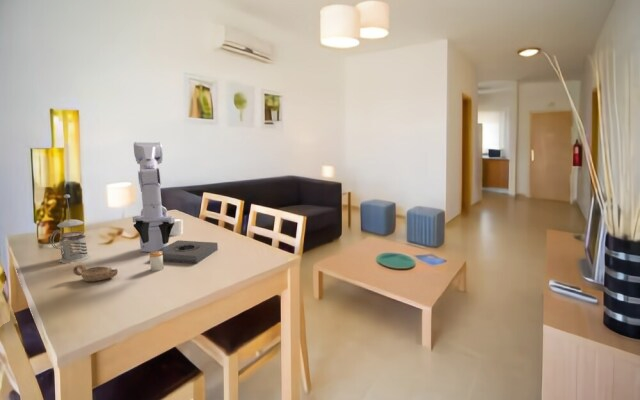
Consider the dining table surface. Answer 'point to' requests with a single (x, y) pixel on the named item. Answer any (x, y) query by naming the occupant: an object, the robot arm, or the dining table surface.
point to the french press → (75, 239)
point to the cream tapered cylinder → (177, 227)
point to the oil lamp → (95, 273)
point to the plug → (156, 260)
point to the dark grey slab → (188, 251)
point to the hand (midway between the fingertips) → (155, 242)
